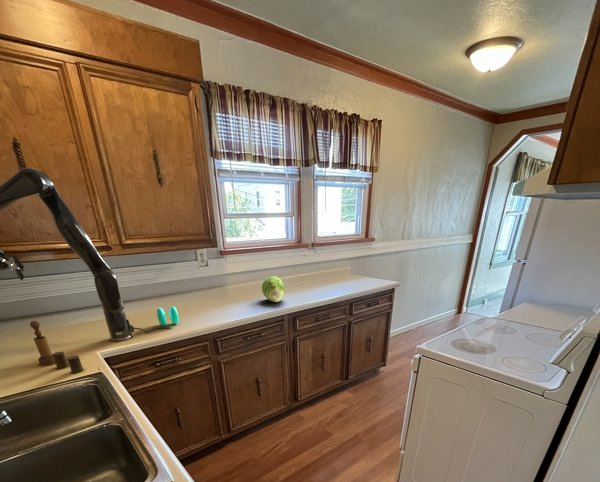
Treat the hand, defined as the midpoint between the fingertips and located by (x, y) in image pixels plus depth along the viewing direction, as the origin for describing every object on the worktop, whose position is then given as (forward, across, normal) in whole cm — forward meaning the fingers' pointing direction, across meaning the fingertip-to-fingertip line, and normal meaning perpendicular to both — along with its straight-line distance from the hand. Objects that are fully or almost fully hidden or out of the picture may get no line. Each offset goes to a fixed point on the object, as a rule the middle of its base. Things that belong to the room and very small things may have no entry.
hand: (9, 280), depth 129 cm
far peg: (+44, +3, +2) cm, 45 cm away
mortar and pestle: (+31, 0, +15) cm, 35 cm away
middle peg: (+38, +2, +8) cm, 39 cm away
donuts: (+26, +63, +20) cm, 71 cm away
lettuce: (+34, +144, +12) cm, 149 cm away
